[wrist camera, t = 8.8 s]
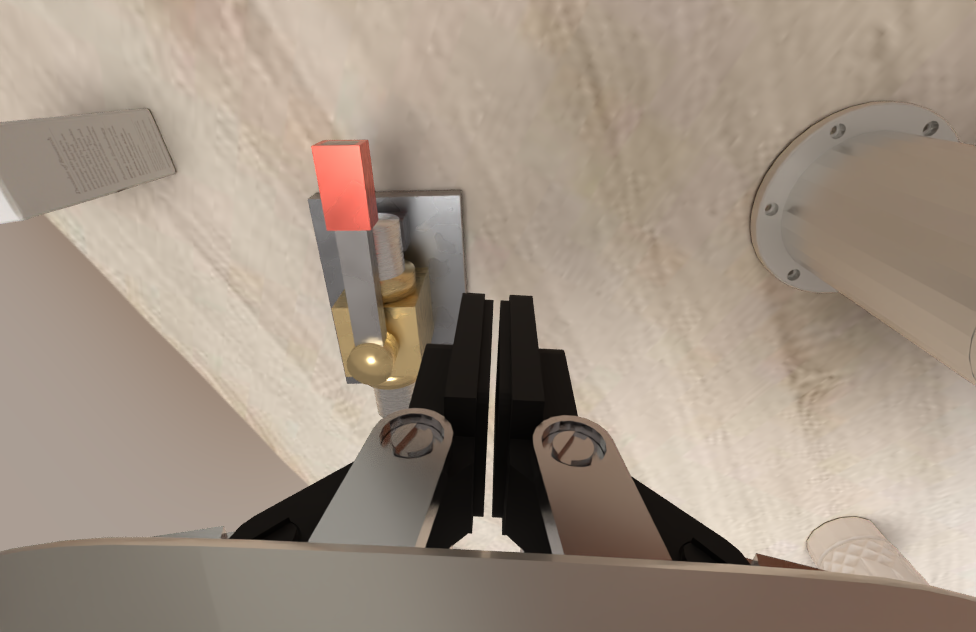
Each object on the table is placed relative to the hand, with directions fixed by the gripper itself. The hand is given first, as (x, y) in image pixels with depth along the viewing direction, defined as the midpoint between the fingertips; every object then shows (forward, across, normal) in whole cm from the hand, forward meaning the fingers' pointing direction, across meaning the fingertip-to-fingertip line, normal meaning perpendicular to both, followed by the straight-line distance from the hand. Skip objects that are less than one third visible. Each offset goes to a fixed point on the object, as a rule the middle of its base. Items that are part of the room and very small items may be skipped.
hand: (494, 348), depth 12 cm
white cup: (+23, -37, +36) cm, 56 cm away
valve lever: (+14, +7, +4) cm, 17 cm away
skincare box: (+22, +25, 0) cm, 33 cm away
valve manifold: (+22, +7, +10) cm, 25 cm away
